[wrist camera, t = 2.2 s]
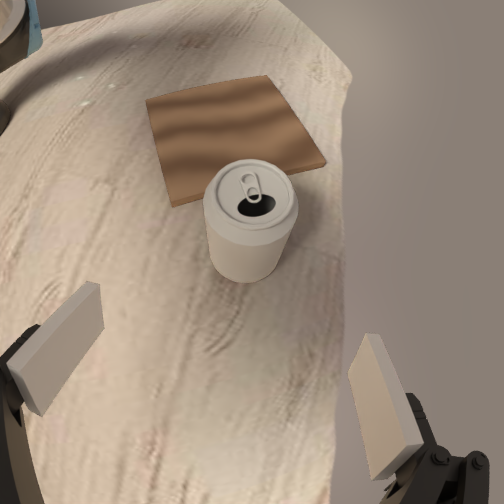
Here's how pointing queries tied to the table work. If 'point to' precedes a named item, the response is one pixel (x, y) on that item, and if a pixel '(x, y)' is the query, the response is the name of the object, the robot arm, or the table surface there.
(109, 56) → the table surface
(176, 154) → the walnut board
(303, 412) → the table surface
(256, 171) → the can
